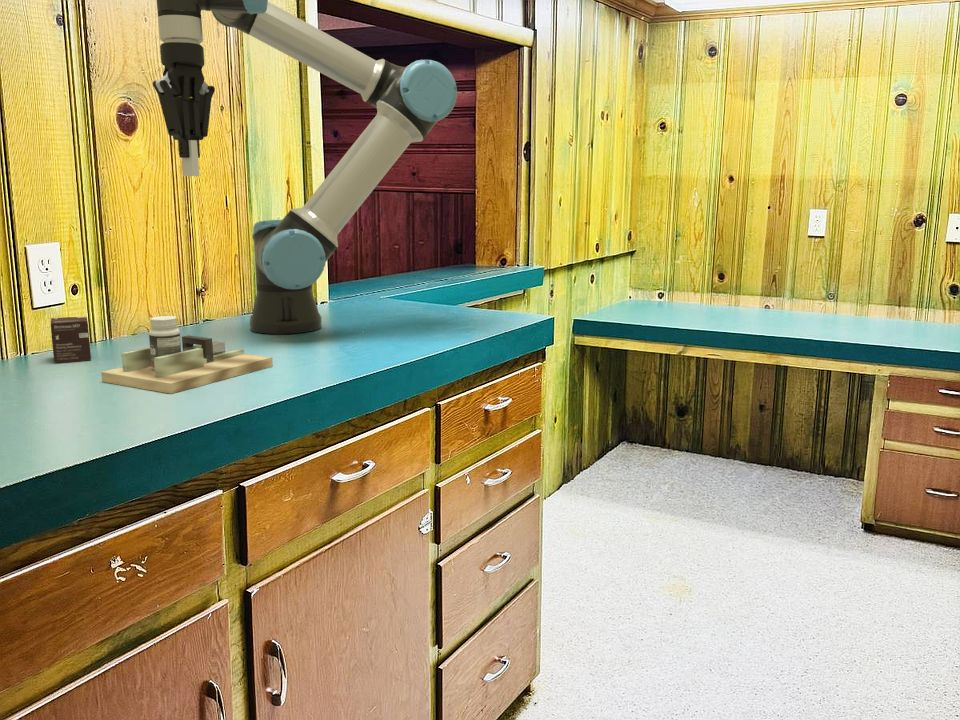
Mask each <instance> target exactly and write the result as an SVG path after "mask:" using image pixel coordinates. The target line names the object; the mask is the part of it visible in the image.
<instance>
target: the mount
mask: <svg viewBox="0 0 960 720" xmlns="http://www.w3.org/2000/svg"><path fill="white" fill-rule="evenodd" d="M212 342H213V338H212V337H203V336H196V335H185V336H181V348H182V351H181V352H178V353H174V354H169V355H165V356H160V357H156V358H154V366H155V370H153V369H152V365H151V353H150V346H148V347H144V348H139V349H136V350H130V351H125V352H121V363H122V366H121V367H117V368H113V369H108V370H104V371H101V372H100V373H101V382H103V383H107V384H114V385H120V386H123V387H124V386H126V387H131V388H135V389H143V390H147V391H154V392H160V393H165V394H171V395H172V394H175V393H179V392H183V391H187V390H190V389H194V388H197V387H201V386H205V385H209V384H211V383H212V384H213V383H216V382H219V381H220V382H221V381H224V380H227V379H230V378H234V376H235V377H238V375H239V376H242V374H243V375H246V374H249V373H253V372H257V371H260V370H261V371H262V370H265V369H268V368H272V367H273V365H274V364H273V363H274V362H273V357H272V356H265V355H257V354H249V353H245V352H244V351H245V350H244V349H234V350H231V351H229V350H225V353H221V354H217V355H213V344H212ZM194 345H201V346H202V348H196V349H192V350H187V351H184V350H183V348H185V347H190V346H194ZM271 366H272V367H271Z"/></svg>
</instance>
